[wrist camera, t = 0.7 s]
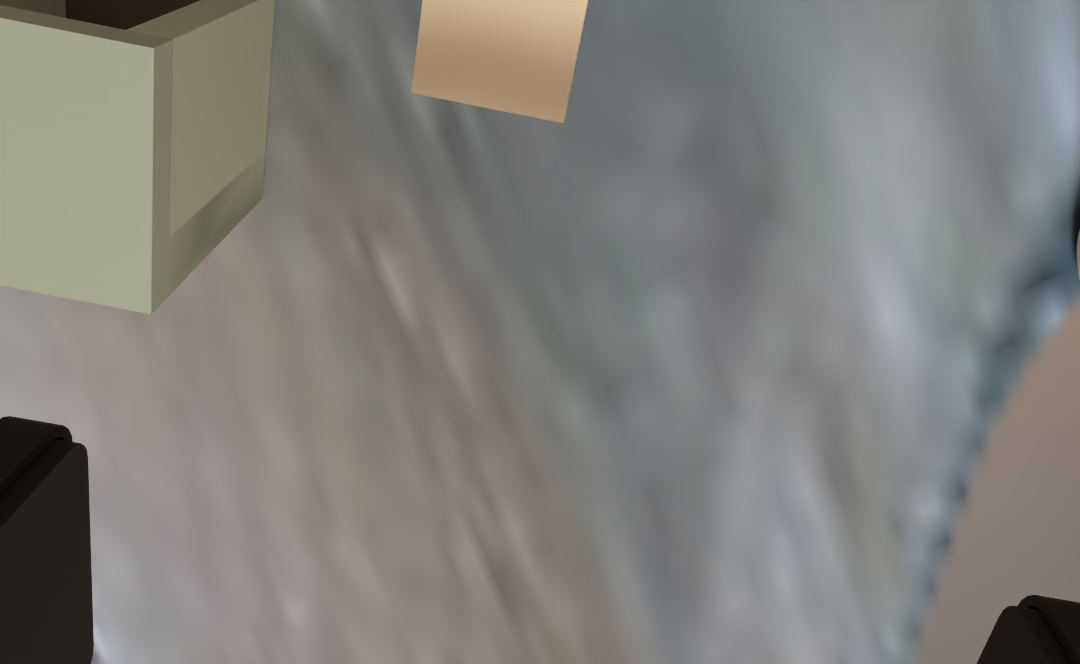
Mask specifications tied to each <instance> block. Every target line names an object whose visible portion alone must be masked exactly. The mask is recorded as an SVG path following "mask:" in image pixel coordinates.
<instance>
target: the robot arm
mask: <svg viewBox="0 0 1080 664" xmlns="http://www.w3.org/2000/svg"><path fill="white" fill-rule="evenodd" d="M93 646H94V642H93V610H92V577H91V545H90V512H89V479H88V456H87V450H86V448H85V446H84V445H82V444H80V443H74V442H73V441H72V435H71V433H70V431H69V429H68V428H66V427H65V426H63V425H57V424H51V423H45V422H40V421H34V420H28V419H22V418H17V417H11V416H9V417H3V418H1V419H0V664H91V661H92V656H93ZM977 664H1080V603H1078V602H1072V601H1067V600H1061V599H1055V598H1049V597H1043V596H1038V595H1031V596H1027V597H1025V598H1024V599H1023V600H1022V601H1021V602H1020V603H1019V605H1018V606H1008V607H1007V608H1005V609H1004V610H1003V611H1002V613H1001V615H1000V616H999V618H998V620H997V622H996V624H995V626H994V629H993V631H992V633H991V635H990V637H989V639H988V641H987V643H986V645H985V647H984V649H983V651H982V654H981V656H980V658H979V660H978V662H977Z"/></svg>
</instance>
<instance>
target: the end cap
mask: <svg viewBox="0 0 1080 664" xmlns="http://www.w3.org/2000/svg"><path fill="white" fill-rule="evenodd" d="M274 7H275V0H200V1H198V2H195V3H193V4H190V5H188V6H185V7H183V8H180V9H177V10H175V11H172V12H170V13H167V14H165V15H162V16H160V17H157V18H155V19H152V20H150V21H147V22H145V23H142V24H140V25H137V26H135V27H132V28H130V29H127V30H123V29H118V28H113V27H108V26H103V25H98V24H93V23H88V22H83V21H78V20H73V19H68V18H66V0H0V285H1V286H6V287H12V288H17V289H22V290H27V291H33V292H38V293H43V294H48V295H53V296H59V297H64V298H69V299H74V300H80V301H85V302H90V303H95V304H101V305H106V306H111V307H116V308H122V309H127V310H132V311H137V312H142V313H148V314H152V313H153V312H154V311H155V310H156V309H157V308H158V306H159V305H160V304H161V303H162V302H163V301H164V300H165V299H166V298H167V297H168V296H169V295H170V294H171V293H172V292H173V291H174V290H175V289H176V288H177V287H178V286H179V285H180V284H181V283H182V281H183V280H184V279H185V278H186V277H187V276H188V275H189V274H190V273H191V272H192V271H193V270H194V269H195V268H196V267H197V266H198V265H199V264H200V263H201V262H202V261H203V260H204V259H205V257H206V256H207V255H208V254H209V253H210V252H211V251H212V250H213V249H214V248H215V247H216V246H217V245H218V244H219V243H220V242H221V241H222V240H223V239H224V238H225V237H226V236H227V235H228V234H229V232H230V231H231V230H232V229H233V228H234V227H235V226H236V225H237V224H238V223H239V222H240V221H241V220H242V219H243V218H244V217H245V216H246V215H247V214H248V213H249V212H250V211H251V210H252V208H253V207H254V206H255V205H256V204H257V203H258V202H259V201H260V200H261V199H262V198H263V182H264V166H265V150H266V134H267V118H268V102H269V87H270V71H271V55H272V39H273V23H274Z"/></svg>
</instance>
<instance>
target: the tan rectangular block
mask: <svg viewBox="0 0 1080 664" xmlns="http://www.w3.org/2000/svg"><path fill="white" fill-rule="evenodd" d="M587 3H588V0H423V3H422V10H421V18H420V26H419V34H418V42H417V50H416V58H415V66H414V73H413V81H412V89H411V93H415V94H420V95H425V96H430V97H435V98H440V99H445V100H450V101H455V102H460V103H465V104H470V105H475V106H480V107H485V108H490V109H495V110H500V111H505V112H510V113H515V114H520V115H525V116H530V117H535V118H540V119H545V120H550V121H555V122H560V123H564V119H565V114H566V109H567V104H568V99H569V94H570V88H571V83H572V78H573V73H574V68H575V63H576V58H577V53H578V48H579V43H580V38H581V33H582V28H583V23H584V18H585V13H586V8H587Z"/></svg>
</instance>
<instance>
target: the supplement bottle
mask: <svg viewBox="0 0 1080 664" xmlns="http://www.w3.org/2000/svg"><path fill="white" fill-rule="evenodd" d="M1077 268H1078V274H1079V279H1080V231H1079V235H1078V241H1077Z"/></svg>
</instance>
